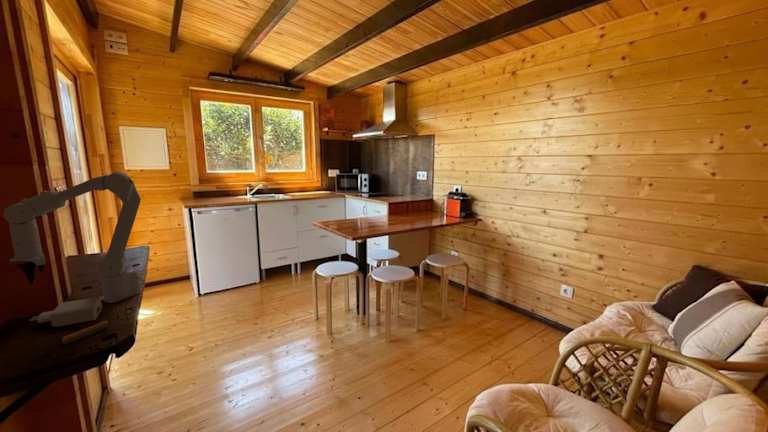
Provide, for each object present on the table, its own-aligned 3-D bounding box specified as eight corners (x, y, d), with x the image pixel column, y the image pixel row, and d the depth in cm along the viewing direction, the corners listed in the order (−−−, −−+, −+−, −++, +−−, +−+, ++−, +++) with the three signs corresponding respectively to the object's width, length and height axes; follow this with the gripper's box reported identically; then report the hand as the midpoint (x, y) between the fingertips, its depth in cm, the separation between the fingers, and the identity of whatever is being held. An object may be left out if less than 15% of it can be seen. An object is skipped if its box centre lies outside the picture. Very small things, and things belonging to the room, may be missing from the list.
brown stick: (107, 326, 95) (106, 320, 94) (109, 326, 94) (108, 321, 94) (62, 343, 86) (61, 337, 85) (65, 344, 85) (63, 338, 85)
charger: (39, 319, 98) (102, 309, 105) (25, 334, 90) (95, 321, 98) (36, 305, 97) (100, 295, 105) (22, 318, 89) (92, 307, 97)
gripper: (-3, 242, 98) (5, 283, 100) (18, 248, 92) (27, 292, 95) (29, 237, 104) (37, 276, 107) (51, 242, 98) (59, 284, 101)
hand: (34, 283), depth 101 cm, fingers closed
